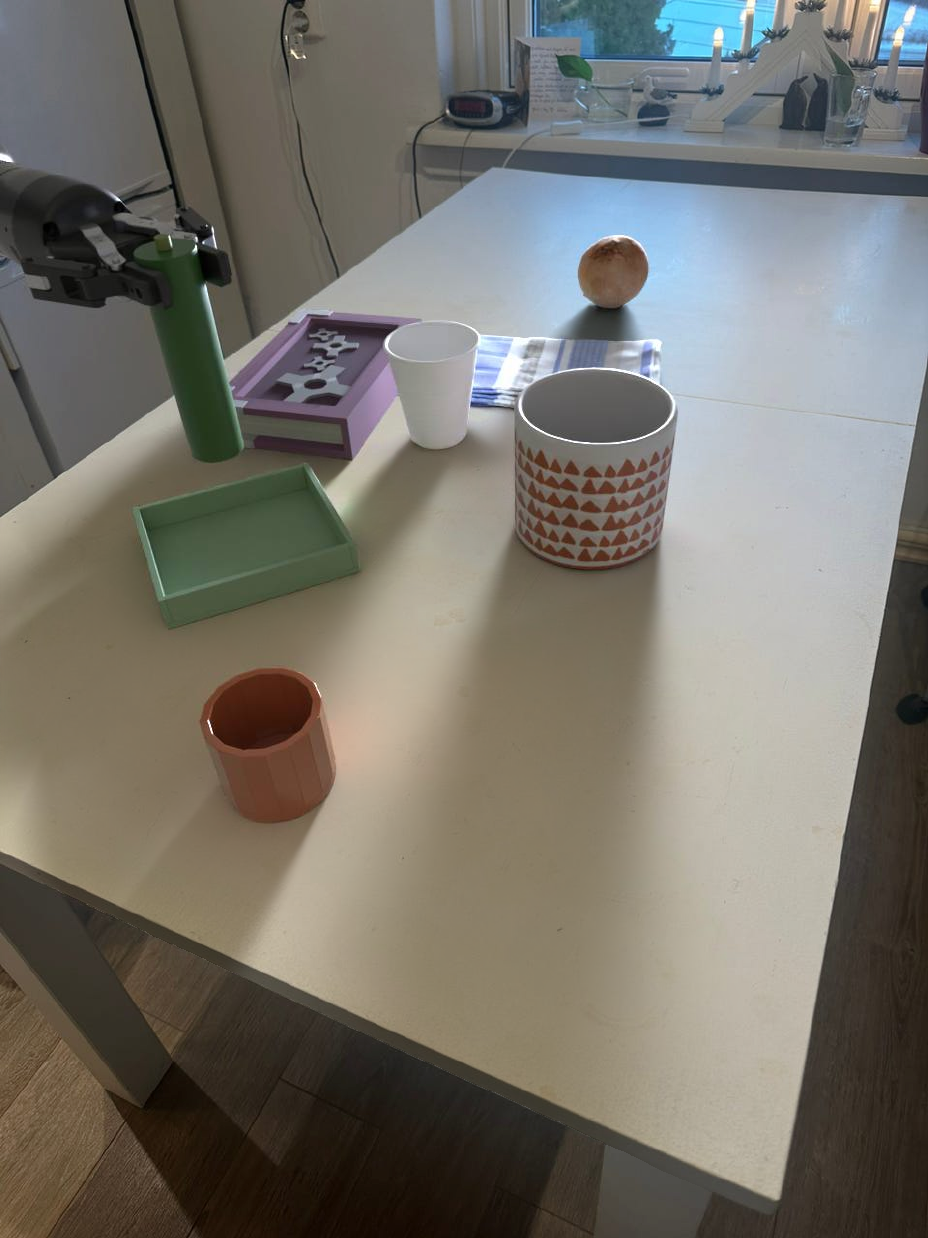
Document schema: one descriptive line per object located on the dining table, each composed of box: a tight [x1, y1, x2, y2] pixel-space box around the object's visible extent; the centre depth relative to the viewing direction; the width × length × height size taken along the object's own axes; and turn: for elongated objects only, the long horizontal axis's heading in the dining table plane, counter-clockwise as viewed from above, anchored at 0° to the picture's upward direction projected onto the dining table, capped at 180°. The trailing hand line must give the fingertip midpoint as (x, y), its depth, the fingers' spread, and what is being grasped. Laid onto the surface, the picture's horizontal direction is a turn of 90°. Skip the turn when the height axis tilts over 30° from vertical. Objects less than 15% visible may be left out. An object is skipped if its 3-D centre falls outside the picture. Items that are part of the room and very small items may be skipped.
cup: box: [383, 320, 481, 450], centre depth 92 cm, size 10×10×11 cm
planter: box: [513, 368, 679, 571], centre depth 78 cm, size 14×14×13 cm
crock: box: [199, 666, 337, 824], centre depth 59 cm, size 8×8×7 cm
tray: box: [131, 462, 361, 630], centre depth 80 cm, size 17×15×3 cm
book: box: [229, 308, 423, 460], centre depth 102 cm, size 25×16×5 cm, turn 164°
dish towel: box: [470, 334, 663, 409], centre depth 103 cm, size 17×24×3 cm
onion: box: [577, 234, 650, 309], centre depth 117 cm, size 10×9×10 cm
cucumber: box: [134, 234, 245, 464], centre depth 62 cm, size 4×4×16 cm
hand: (195, 280), depth 56 cm, fingers closed on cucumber, 4 cm apart
